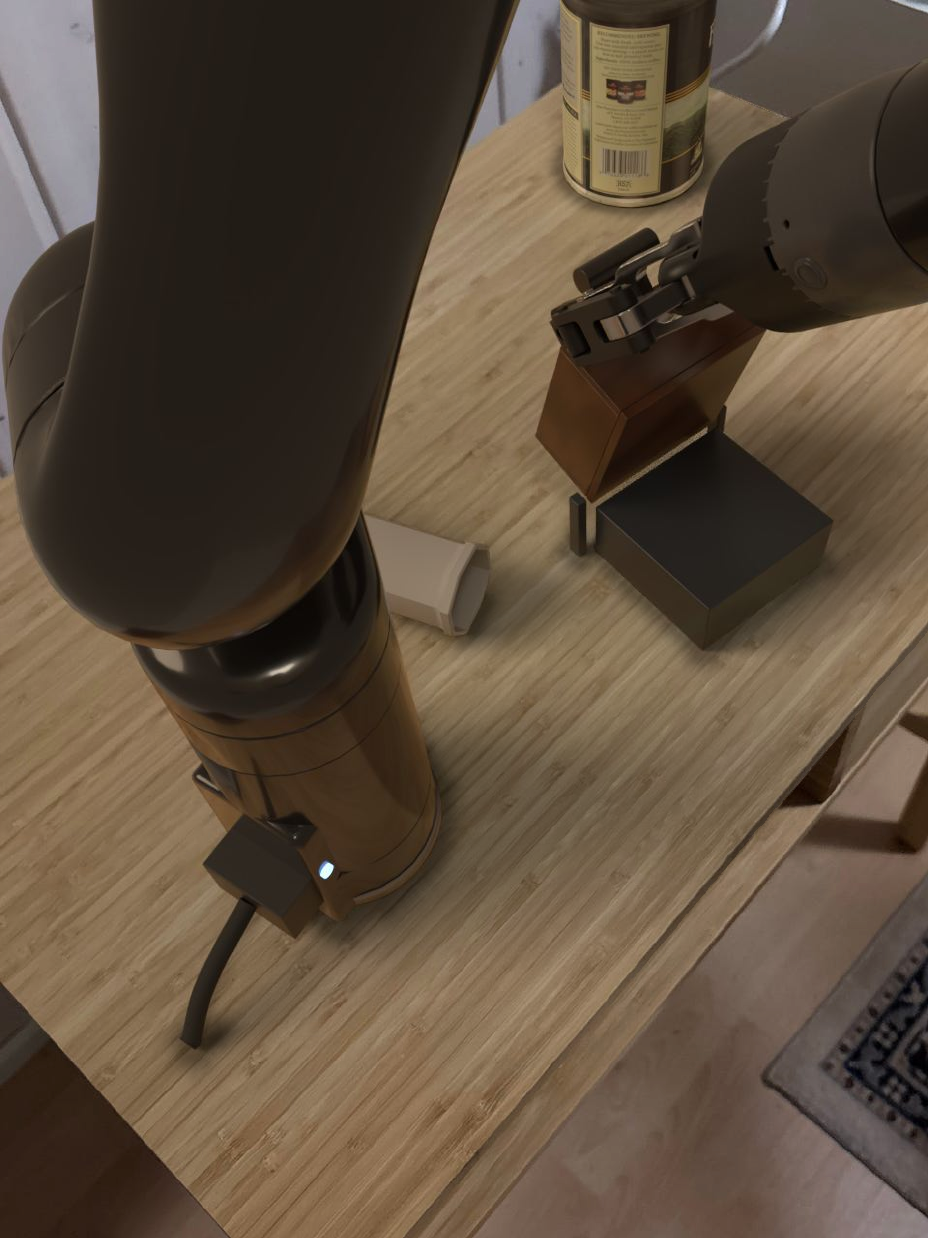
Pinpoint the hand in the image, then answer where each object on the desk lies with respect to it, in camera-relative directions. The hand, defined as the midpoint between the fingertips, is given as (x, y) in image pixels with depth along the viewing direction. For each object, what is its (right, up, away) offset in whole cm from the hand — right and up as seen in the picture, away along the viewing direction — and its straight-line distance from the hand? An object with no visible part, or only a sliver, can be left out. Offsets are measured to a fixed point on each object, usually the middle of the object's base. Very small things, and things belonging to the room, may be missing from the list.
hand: (626, 291), depth 55 cm
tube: (-19, -12, +12) cm, 25 cm away
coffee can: (+4, +17, +29) cm, 34 cm away
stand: (+6, -12, +9) cm, 16 cm away
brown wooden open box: (+3, -5, +3) cm, 7 cm away
